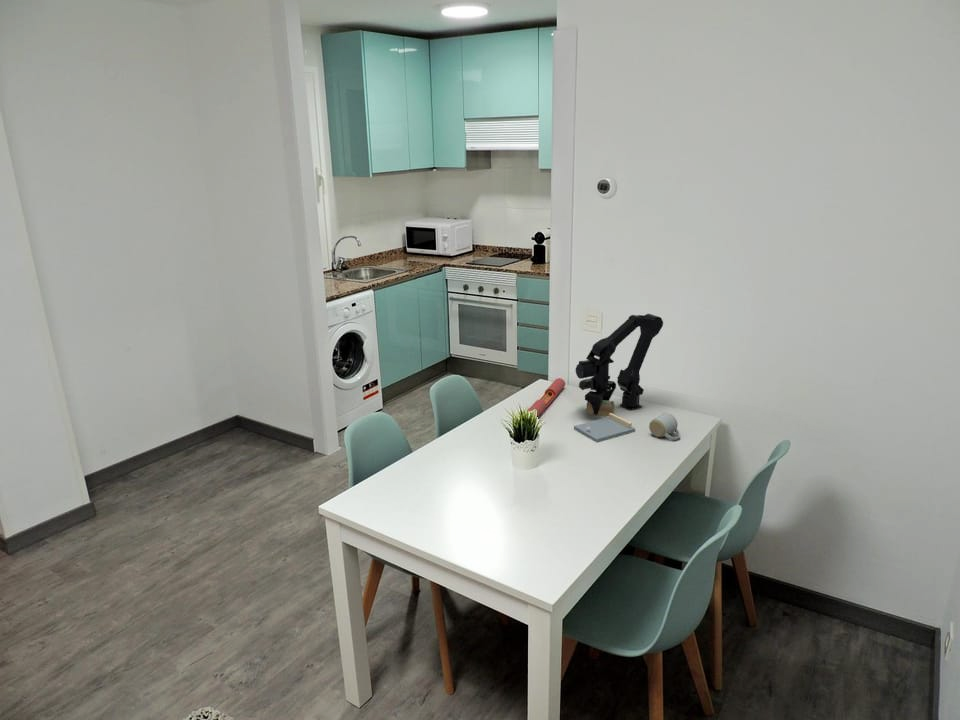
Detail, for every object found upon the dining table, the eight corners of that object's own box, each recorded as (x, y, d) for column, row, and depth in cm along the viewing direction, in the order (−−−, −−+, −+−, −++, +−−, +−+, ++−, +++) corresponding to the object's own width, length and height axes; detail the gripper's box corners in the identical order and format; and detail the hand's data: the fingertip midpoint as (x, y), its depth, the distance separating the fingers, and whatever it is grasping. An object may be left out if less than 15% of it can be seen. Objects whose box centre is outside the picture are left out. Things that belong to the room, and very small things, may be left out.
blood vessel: (554, 388, 295) (554, 377, 294) (565, 389, 293) (565, 378, 292) (522, 423, 259) (522, 411, 257) (534, 425, 257) (534, 413, 255)
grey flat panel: (611, 418, 259) (611, 411, 258) (635, 431, 247) (635, 423, 246) (573, 428, 251) (574, 421, 250) (596, 442, 239) (596, 434, 238)
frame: (589, 410, 269) (589, 398, 267) (613, 412, 266) (614, 400, 264) (586, 414, 265) (586, 402, 263) (611, 417, 261) (611, 405, 260)
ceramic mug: (647, 434, 244) (648, 415, 242) (659, 428, 249) (661, 409, 247) (671, 444, 237) (673, 424, 234) (684, 437, 242) (686, 418, 239)
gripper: (591, 364, 272) (590, 399, 276) (572, 378, 256) (572, 415, 261) (617, 368, 266) (615, 404, 271) (599, 382, 251) (598, 420, 256)
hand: (600, 410), depth 265 cm, fingers open, 9 cm apart
